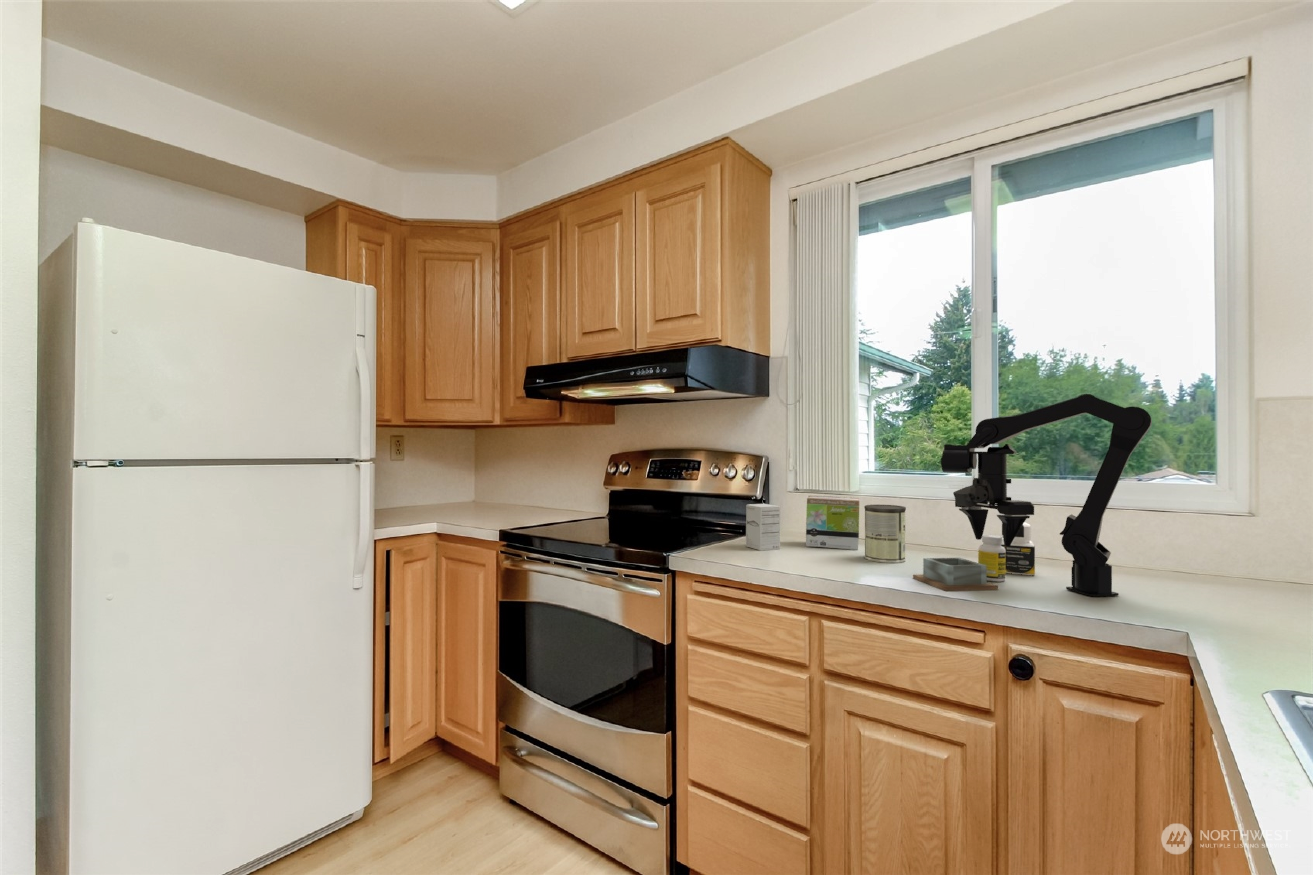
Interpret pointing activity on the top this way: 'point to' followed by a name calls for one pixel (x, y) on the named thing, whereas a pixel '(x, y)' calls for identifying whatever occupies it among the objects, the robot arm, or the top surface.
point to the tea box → (832, 522)
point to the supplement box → (763, 526)
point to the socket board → (954, 574)
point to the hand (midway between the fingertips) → (992, 542)
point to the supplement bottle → (993, 557)
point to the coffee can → (885, 533)
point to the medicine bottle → (1020, 553)
